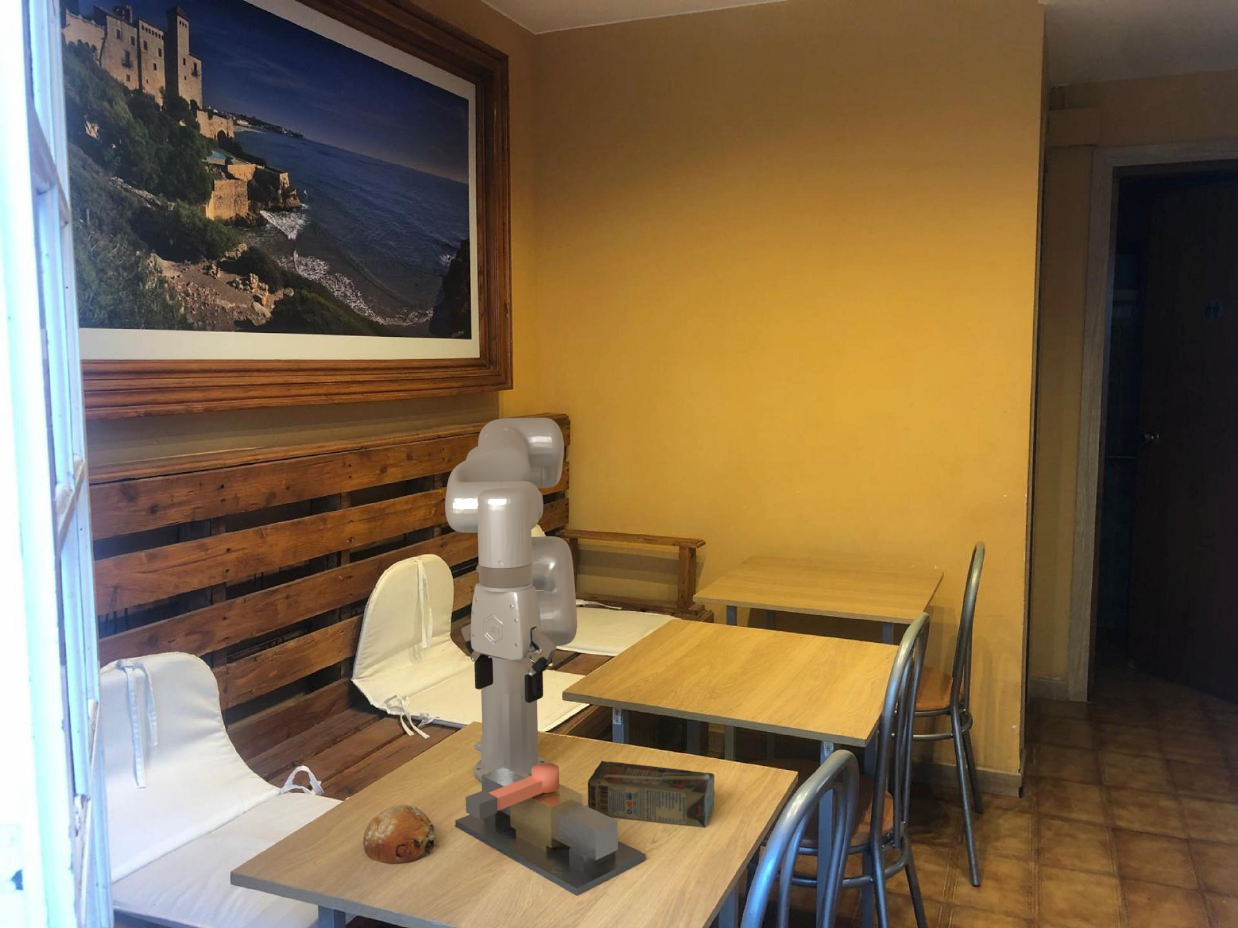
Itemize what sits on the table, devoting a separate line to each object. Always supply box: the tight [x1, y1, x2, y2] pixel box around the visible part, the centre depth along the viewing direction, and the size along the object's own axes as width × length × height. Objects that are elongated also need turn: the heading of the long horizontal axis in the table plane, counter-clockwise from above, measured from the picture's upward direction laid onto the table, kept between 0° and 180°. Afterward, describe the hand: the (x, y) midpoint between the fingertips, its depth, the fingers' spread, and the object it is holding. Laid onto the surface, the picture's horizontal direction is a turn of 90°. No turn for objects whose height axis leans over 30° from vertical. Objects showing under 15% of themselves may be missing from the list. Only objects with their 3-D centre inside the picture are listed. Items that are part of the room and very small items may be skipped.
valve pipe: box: [454, 768, 646, 896], centre depth 145 cm, size 28×13×8 cm, turn 44°
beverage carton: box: [587, 760, 716, 829], centre depth 155 cm, size 8×19×7 cm, turn 75°
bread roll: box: [362, 804, 437, 865], centre depth 145 cm, size 10×10×8 cm
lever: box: [465, 762, 560, 820], centre depth 141 cm, size 15×4×3 cm, turn 134°
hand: (508, 693), depth 142 cm, fingers open, 9 cm apart
